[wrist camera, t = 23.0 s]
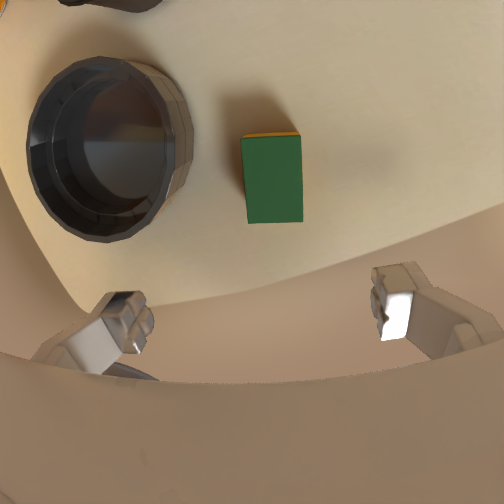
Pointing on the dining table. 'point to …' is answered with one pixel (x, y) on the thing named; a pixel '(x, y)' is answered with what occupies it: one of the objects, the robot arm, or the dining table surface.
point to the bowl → (108, 147)
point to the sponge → (273, 177)
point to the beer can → (2, 5)
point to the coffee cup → (117, 4)
